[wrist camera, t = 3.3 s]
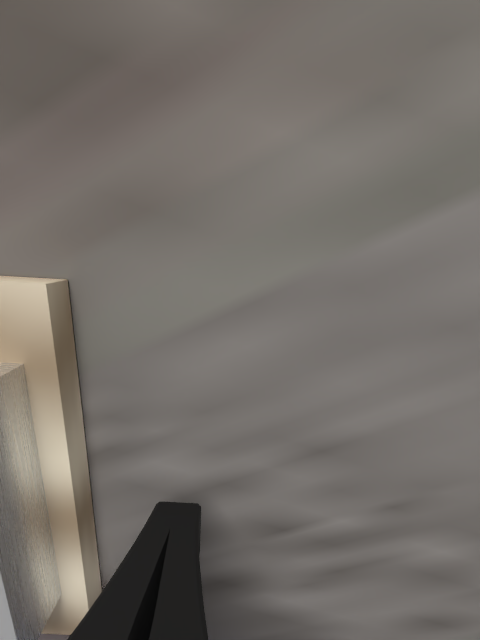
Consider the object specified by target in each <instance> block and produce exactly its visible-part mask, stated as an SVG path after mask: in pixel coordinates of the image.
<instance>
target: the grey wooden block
mask: <svg viewBox="0 0 480 640" xmlns="http://www.w3.org/2000/svg"><path fill="white" fill-rule="evenodd" d="M61 594H62V592H61V586H60V580H59V574H58V568H57V562H56V556H55V550H54V544H53V538H52V532H51V526H50V520H49V514H48V508H47V502H46V496H45V489H44V483H43V477H42V471H41V465H40V459H39V453H38V447H37V441H36V435H35V429H34V423H33V417H32V411H31V405H30V399H29V393H28V387H27V381H26V375H25V369H24V364H17V363H0V640H38V638H39V637H40V635H41V633H42V631H43V629H44V627H45V625H46V623H47V621H48V619H49V617H50V615H51V613H52V611H53V609H54V608H55V606H56V604H57V602H58V600H59V598H60V596H61Z"/></svg>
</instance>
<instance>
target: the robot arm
mask: <svg viewBox="0 0 480 640" xmlns="http://www.w3.org/2000/svg"><path fill="white" fill-rule="evenodd" d="M200 526H201V506H200V505H199V504H195V503H176V502H159V503H157V504H156V506H155V508H154V510H153V512H152V513H151V515H150V517H149V519H148V521H147V522H146V524H145V526H144V528H143V529H142V531H141V533H140V534H139V536H138V538H137V539H136V541H135V542H134V544H133V546H132V547H131V549H130V550H129V552H128V554H127V555H126V557H125V558H124V560H123V561H122V563H121V564H120V566H119V567H118V569H117V570H116V572H115V573H114V575H113V576H112V578H111V579H110V581H109V582H108V584H107V585H106V587H105V588H104V590H103V591H102V592H101V594H100V595H99V597H98V598H97V599H96V601H95V602H94V604H93V605H92V606H91V608H90V609H89V611H88V612H87V613H86V615H85V616H84V618H83V619H82V620H81V622H80V623H79V625H78V626H77V627H76V629H75V630H74V631H73V633H72V634H71V635H70V637H69V638H68V639H67V640H208V635H207V628H206V620H205V613H204V605H203V596H202V586H201V575H200V563H199V553H200Z"/></svg>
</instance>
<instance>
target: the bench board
mask: <svg viewBox="0 0 480 640" xmlns="http://www.w3.org/2000/svg"><path fill="white" fill-rule="evenodd" d="M0 363H17V364H24V369H25V375H26V381H27V387H28V393H29V399H30V405H31V411H32V417H33V423H34V429H35V435H36V441H37V447H38V453H39V459H40V465H41V471H42V477H43V483H44V489H45V496H46V502H47V508H48V514H49V520H50V526H51V532H52V538H53V544H54V550H55V556H56V562H57V568H58V574H59V580H60V586H61V592H62V594H61V596H60V598H59V600H58V602H57V604H56V606H55V608H54V609H53V611H52V613H51V615H50V617H49V619H48V621H47V623H46V625H45V627H44V629H43V631H42V633H41V634H62V635H71V634H72V633H73V631H74V630H75V629H76V627H77V626H78V625H79V623H80V622H81V620H82V619H83V618H84V616H85V615H86V613H87V612H88V611H89V609H90V608H91V606H92V605H93V604H94V602H95V601H96V599H97V598H98V597H99V595H100V594H101V592H102V587H101V578H100V569H99V560H98V551H97V542H96V533H95V524H94V515H93V506H92V496H91V487H90V478H89V469H88V460H87V451H86V442H85V433H84V424H83V415H82V406H81V397H80V388H79V378H78V369H77V360H76V351H75V342H74V333H73V324H72V315H71V306H70V297H69V288H68V280H66V279H48V278H30V277H12V276H0Z"/></svg>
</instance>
